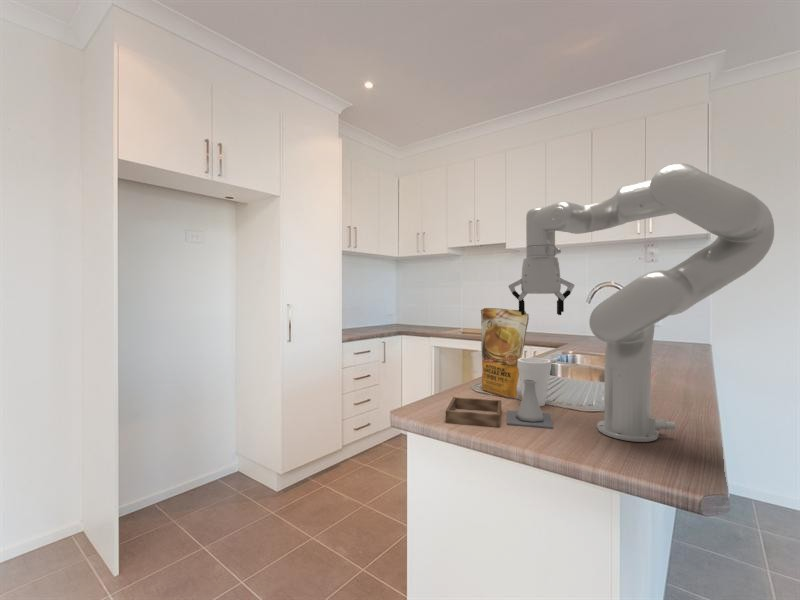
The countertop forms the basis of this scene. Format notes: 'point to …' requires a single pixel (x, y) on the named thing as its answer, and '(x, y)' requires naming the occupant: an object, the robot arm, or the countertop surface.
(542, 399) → the foam cup
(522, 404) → the flask
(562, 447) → the countertop surface
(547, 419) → the charcoal mat
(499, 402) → the walnut frame
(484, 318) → the pancake mix bag
